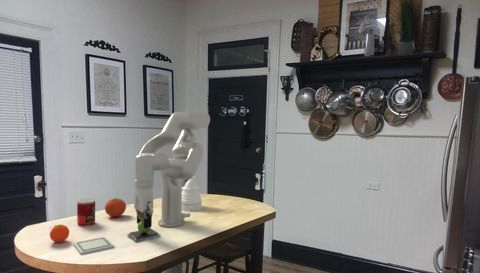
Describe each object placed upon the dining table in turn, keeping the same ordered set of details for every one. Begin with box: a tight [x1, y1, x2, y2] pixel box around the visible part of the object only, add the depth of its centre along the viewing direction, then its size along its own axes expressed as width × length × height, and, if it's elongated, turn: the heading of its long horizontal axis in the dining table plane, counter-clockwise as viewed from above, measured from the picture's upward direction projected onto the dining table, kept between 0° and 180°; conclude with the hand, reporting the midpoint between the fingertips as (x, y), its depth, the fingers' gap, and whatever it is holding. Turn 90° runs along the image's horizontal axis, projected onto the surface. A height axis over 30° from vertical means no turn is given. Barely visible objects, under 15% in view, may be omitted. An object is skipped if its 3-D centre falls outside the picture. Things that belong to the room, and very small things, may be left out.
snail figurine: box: [135, 205, 152, 233], centre depth 139 cm, size 5×6×12 cm
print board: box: [73, 236, 115, 256], centre depth 127 cm, size 12×12×1 cm
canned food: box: [76, 198, 96, 227], centre depth 155 cm, size 8×8×11 cm
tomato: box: [104, 197, 127, 218], centre depth 168 cm, size 10×10×10 cm
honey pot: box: [182, 175, 203, 212], centre depth 187 cm, size 13×13×18 cm
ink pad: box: [126, 228, 161, 243], centre depth 139 cm, size 11×9×2 cm
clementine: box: [49, 224, 70, 243], centre depth 131 cm, size 8×7×7 cm
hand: (144, 224), depth 139 cm, fingers open, 7 cm apart
